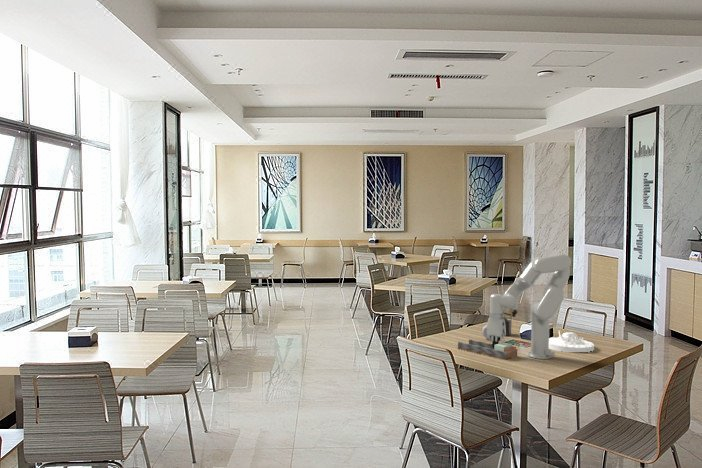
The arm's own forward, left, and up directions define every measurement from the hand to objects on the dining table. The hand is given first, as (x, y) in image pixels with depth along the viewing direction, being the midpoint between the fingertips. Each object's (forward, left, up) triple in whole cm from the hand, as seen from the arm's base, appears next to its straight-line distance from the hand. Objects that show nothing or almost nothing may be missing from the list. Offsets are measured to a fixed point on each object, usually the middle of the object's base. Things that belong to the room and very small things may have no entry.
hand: (495, 348), depth 316 cm
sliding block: (-5, 0, -2) cm, 6 cm away
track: (+6, 0, -4) cm, 7 cm away
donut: (+24, -30, -4) cm, 38 cm away
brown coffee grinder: (+26, -52, -4) cm, 58 cm away
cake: (-18, -51, -4) cm, 54 cm away
